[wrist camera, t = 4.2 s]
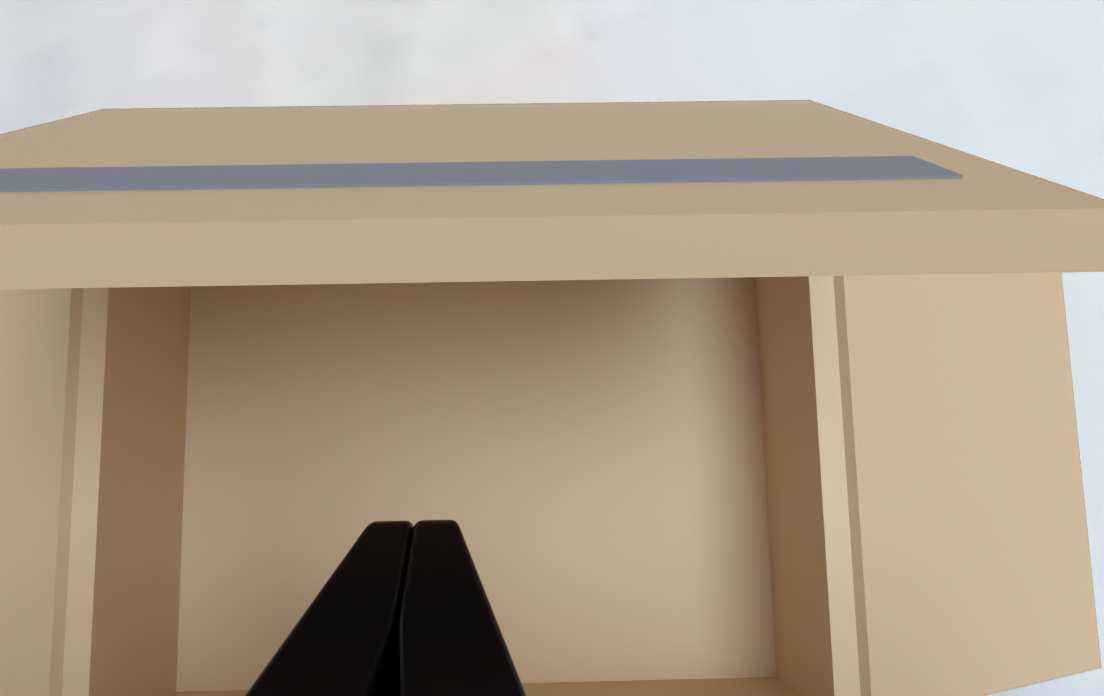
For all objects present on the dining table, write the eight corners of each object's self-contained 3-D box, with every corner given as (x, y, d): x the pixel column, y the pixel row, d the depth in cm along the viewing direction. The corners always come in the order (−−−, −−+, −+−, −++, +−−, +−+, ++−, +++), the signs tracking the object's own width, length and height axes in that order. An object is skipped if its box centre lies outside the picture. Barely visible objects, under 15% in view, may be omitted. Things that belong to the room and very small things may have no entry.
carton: (1127, 1017, 18) (1309, 1176, 14) (-179, 1058, 18) (-408, 1236, 13) (1044, 188, 21) (1177, 106, 16) (-108, 204, 20) (-282, 124, 16)
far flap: (806, 133, 16) (1116, 275, 8) (108, 142, 16) (-367, 299, 7) (810, 98, 16) (1130, 204, 8) (103, 106, 16) (-391, 226, 7)
